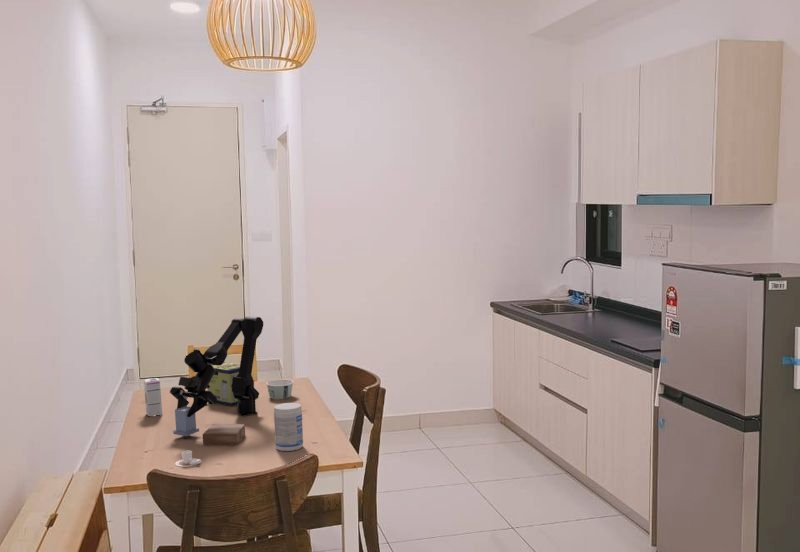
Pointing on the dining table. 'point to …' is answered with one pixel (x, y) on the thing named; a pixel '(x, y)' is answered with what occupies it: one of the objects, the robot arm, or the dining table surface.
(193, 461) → the teacup and saucer
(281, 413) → the supplement tub
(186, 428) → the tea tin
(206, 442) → the stack block
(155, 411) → the syrup box
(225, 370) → the protein box
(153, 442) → the dining table surface
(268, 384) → the food container
